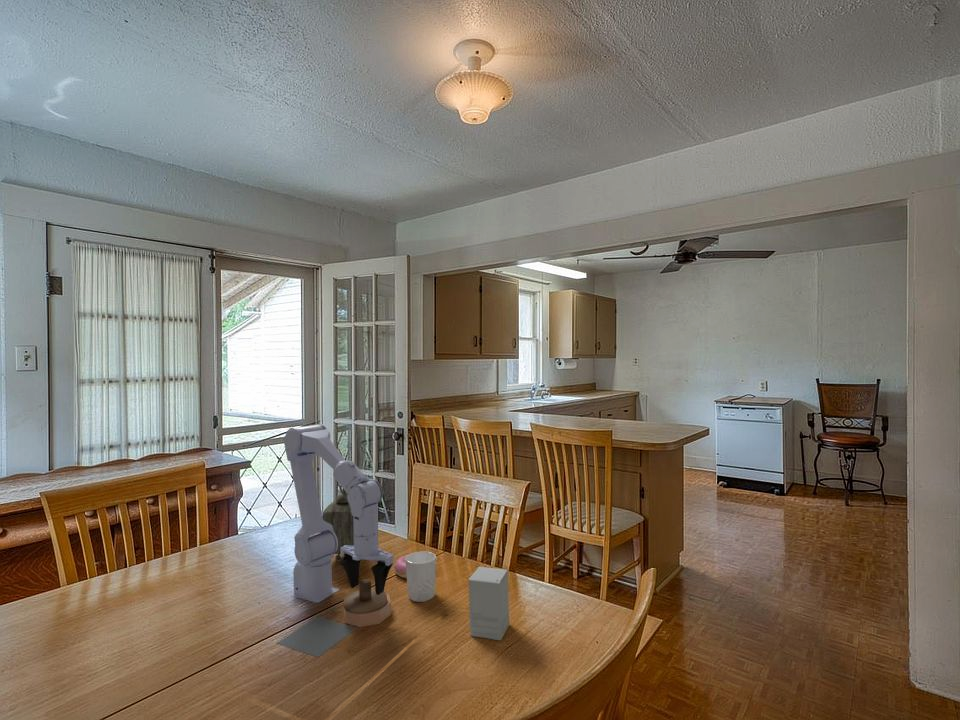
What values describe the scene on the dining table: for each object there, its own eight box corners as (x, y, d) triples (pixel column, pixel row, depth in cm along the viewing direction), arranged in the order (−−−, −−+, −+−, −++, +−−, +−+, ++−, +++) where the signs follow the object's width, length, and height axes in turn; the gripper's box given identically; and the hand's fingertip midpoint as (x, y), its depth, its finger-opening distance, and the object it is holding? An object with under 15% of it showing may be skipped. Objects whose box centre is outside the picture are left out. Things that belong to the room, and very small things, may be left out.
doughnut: (440, 569, 145) (440, 555, 145) (416, 584, 136) (415, 569, 136) (411, 561, 151) (411, 548, 151) (386, 575, 142) (385, 561, 142)
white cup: (431, 604, 125) (430, 564, 124) (401, 602, 126) (400, 562, 126) (440, 589, 132) (439, 552, 132) (412, 587, 134) (411, 550, 134)
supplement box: (510, 624, 115) (509, 569, 115) (501, 641, 108) (499, 583, 108) (479, 619, 117) (478, 565, 117) (468, 636, 110) (467, 579, 110)
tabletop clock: (352, 570, 145) (351, 484, 145) (321, 570, 145) (319, 484, 145) (365, 550, 160) (363, 472, 160) (336, 551, 160) (335, 473, 160)
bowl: (335, 622, 117) (334, 607, 117) (364, 601, 127) (364, 587, 127) (370, 632, 112) (370, 617, 112) (399, 610, 122) (398, 596, 122)
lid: (334, 607, 117) (334, 586, 117) (363, 589, 126) (363, 569, 126) (367, 617, 112) (367, 595, 112) (395, 598, 121) (395, 577, 121)
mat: (276, 645, 108) (276, 642, 108) (317, 619, 119) (317, 616, 119) (318, 660, 102) (317, 657, 102) (357, 630, 113) (357, 628, 113)
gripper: (330, 533, 119) (332, 590, 119) (379, 543, 112) (381, 603, 113) (351, 524, 125) (352, 578, 125) (398, 532, 119) (399, 590, 119)
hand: (367, 589), depth 119 cm, fingers open, 7 cm apart
